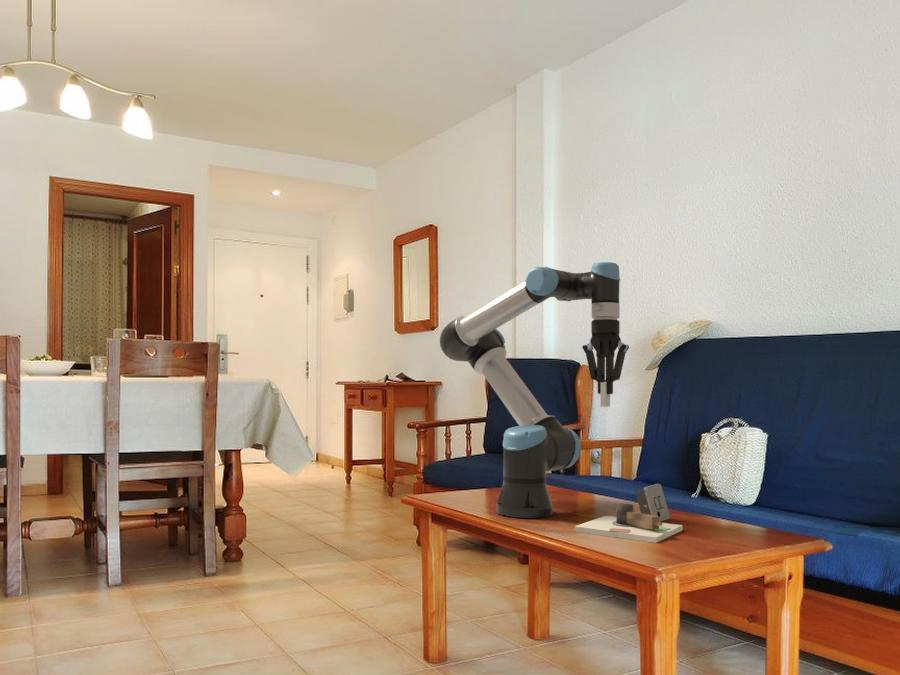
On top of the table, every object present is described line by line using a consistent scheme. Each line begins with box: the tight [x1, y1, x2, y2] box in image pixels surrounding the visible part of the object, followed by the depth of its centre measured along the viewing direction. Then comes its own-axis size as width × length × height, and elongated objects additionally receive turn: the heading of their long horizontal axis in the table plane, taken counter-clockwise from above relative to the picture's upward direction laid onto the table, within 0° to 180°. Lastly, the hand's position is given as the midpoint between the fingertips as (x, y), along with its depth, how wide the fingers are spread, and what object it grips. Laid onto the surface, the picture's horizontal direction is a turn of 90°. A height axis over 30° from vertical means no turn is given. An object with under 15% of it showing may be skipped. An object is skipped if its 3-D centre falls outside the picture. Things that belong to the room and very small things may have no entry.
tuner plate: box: [574, 515, 684, 544], centre depth 178 cm, size 20×18×2 cm
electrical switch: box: [635, 483, 671, 522], centre depth 193 cm, size 9×5×9 cm, turn 141°
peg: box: [615, 502, 663, 530], centre depth 176 cm, size 14×4×4 cm, turn 31°
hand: (605, 406), depth 200 cm, fingers closed
